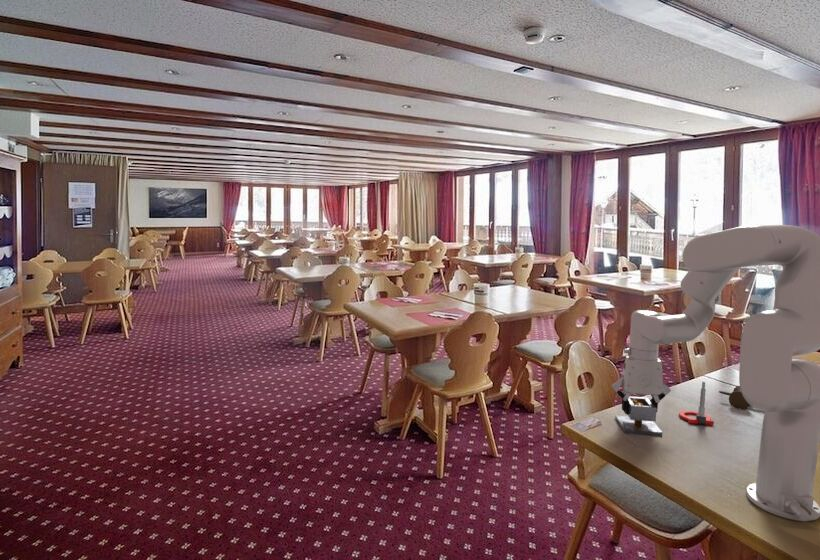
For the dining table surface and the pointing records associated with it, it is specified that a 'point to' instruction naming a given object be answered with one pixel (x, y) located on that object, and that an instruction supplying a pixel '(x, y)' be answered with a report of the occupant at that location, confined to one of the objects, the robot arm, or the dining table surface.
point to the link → (641, 409)
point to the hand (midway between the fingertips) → (639, 412)
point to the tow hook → (700, 416)
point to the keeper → (638, 425)
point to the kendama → (737, 399)
